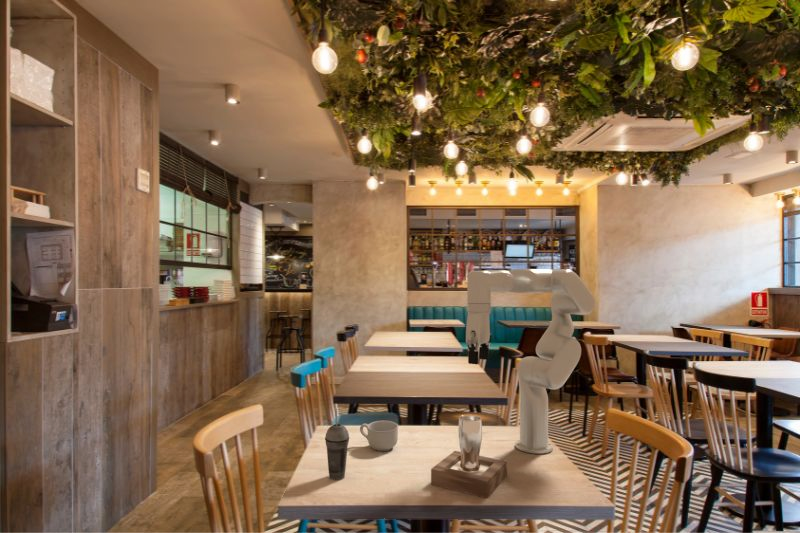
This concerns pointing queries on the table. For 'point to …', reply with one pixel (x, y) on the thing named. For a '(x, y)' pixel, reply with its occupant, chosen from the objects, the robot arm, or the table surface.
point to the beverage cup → (337, 450)
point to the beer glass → (470, 442)
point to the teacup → (381, 434)
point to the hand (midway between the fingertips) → (478, 361)
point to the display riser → (469, 475)
